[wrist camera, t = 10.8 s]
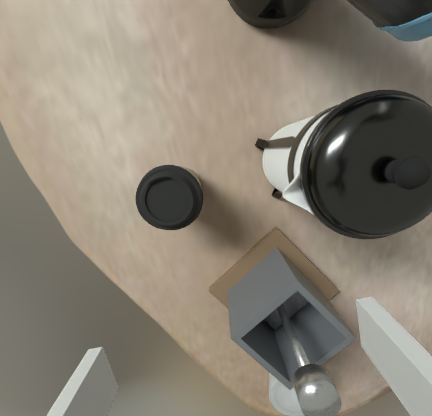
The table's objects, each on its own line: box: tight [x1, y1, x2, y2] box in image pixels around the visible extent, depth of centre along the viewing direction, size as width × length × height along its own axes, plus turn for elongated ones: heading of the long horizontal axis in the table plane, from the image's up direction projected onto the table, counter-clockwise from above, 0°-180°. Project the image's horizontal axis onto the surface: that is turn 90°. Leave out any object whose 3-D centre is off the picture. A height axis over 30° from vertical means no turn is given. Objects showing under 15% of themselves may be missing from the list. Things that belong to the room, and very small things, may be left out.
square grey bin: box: [209, 227, 356, 390], centre depth 45 cm, size 18×18×14 cm
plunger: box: [264, 291, 341, 416], centre depth 39 cm, size 10×10×22 cm
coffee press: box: [255, 90, 432, 239], centre depth 32 cm, size 17×16×30 cm
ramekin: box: [269, 372, 304, 416], centre depth 54 cm, size 11×11×5 cm
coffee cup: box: [136, 165, 203, 230], centre depth 40 cm, size 9×9×15 cm
